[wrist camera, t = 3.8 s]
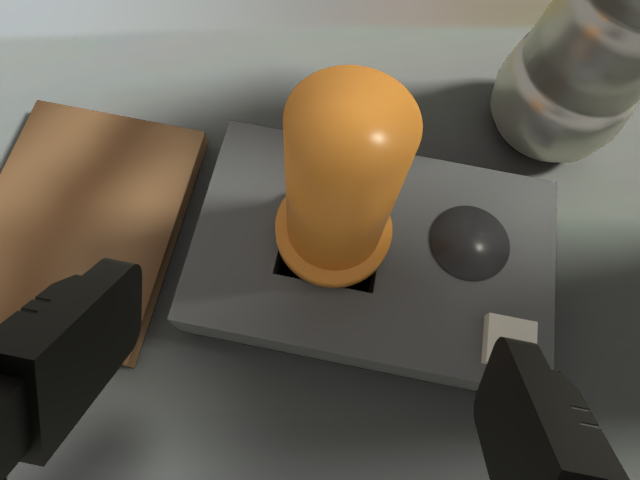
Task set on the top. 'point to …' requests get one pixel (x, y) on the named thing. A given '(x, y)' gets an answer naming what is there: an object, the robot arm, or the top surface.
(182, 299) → the grey socket board
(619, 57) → the plastic bottle
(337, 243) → the plug
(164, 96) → the top surface
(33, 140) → the board
